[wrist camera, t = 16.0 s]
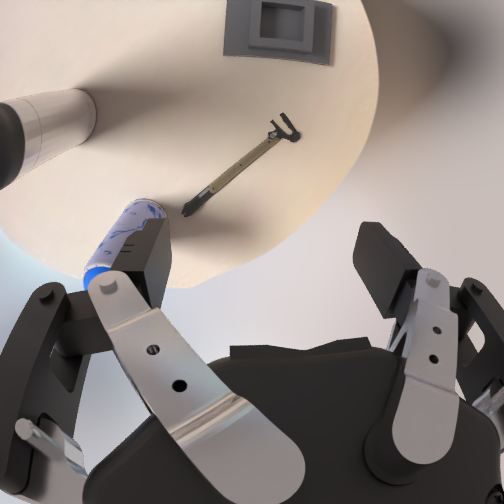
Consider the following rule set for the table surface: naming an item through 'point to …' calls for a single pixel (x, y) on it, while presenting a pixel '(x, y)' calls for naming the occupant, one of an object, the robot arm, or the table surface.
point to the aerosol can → (120, 236)
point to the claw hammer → (240, 165)
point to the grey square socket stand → (279, 29)
